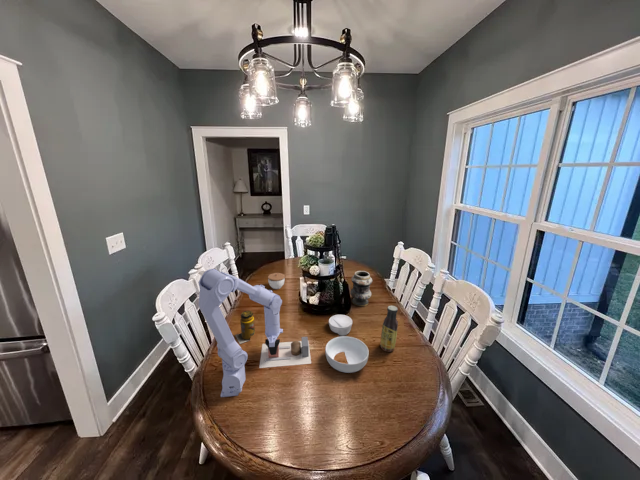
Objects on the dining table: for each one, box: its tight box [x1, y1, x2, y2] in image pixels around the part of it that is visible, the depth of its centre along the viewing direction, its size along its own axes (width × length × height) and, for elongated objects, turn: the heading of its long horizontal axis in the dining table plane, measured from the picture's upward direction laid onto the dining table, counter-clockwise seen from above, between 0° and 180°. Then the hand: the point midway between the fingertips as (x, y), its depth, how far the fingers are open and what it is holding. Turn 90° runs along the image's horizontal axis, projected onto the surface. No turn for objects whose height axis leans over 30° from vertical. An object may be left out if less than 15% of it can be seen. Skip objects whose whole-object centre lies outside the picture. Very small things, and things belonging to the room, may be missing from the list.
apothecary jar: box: [349, 270, 373, 307], centre depth 148 cm, size 12×12×18 cm
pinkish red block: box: [268, 337, 279, 358], centre depth 105 cm, size 4×4×6 cm
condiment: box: [234, 310, 256, 345], centre depth 117 cm, size 7×8×12 cm
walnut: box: [291, 340, 301, 356], centre depth 106 cm, size 4×4×4 cm
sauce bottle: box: [380, 305, 399, 353], centre depth 109 cm, size 7×6×20 cm
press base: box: [258, 336, 312, 369], centre depth 106 cm, size 14×20×6 cm
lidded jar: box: [267, 272, 286, 290], centre depth 167 cm, size 11×11×9 cm
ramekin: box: [328, 314, 353, 337], centre depth 123 cm, size 11×11×5 cm
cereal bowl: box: [324, 335, 370, 374], centre depth 102 cm, size 17×17×7 cm
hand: (273, 350), depth 105 cm, fingers closed on pinkish red block, 4 cm apart
